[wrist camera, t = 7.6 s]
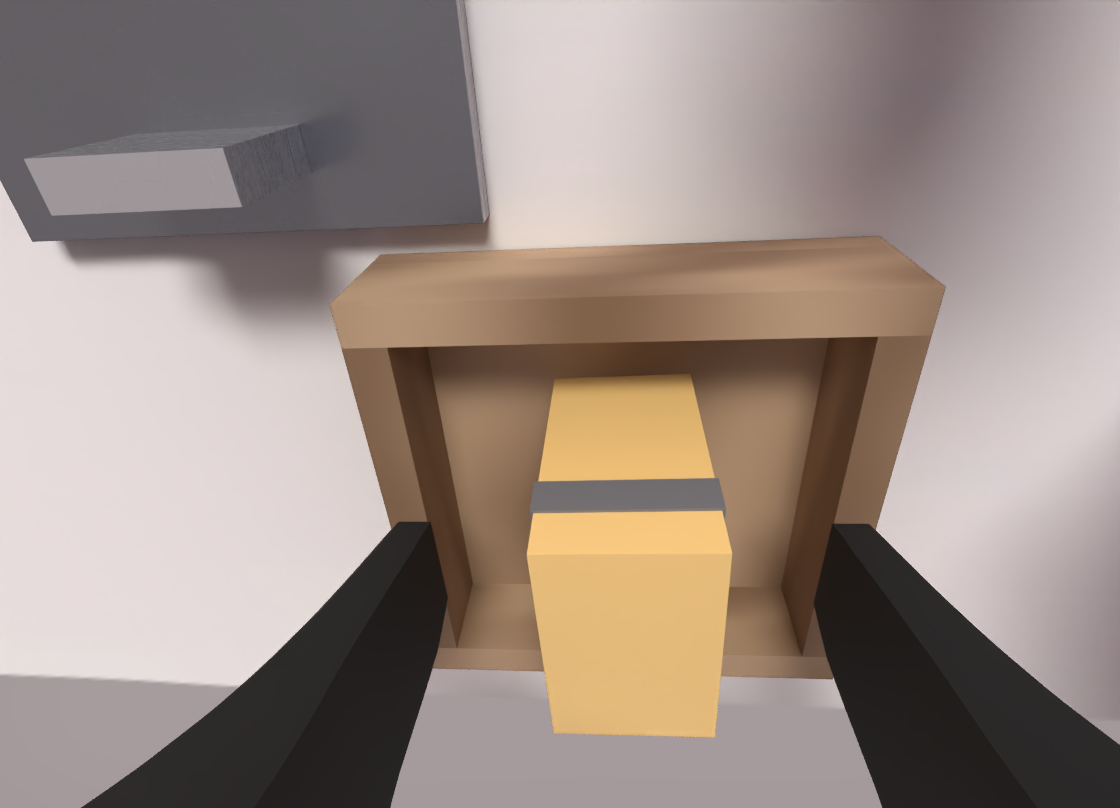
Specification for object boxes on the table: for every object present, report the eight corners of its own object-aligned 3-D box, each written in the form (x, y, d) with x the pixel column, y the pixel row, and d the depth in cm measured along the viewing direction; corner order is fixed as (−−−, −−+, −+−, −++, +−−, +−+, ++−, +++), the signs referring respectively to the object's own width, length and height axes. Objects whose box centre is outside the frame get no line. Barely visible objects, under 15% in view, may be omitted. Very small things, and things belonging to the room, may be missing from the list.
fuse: (693, 371, 12) (736, 550, 8) (686, 533, 15) (717, 738, 10) (552, 376, 13) (522, 552, 8) (568, 535, 15) (551, 734, 11)
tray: (880, 235, 11) (945, 286, 9) (802, 591, 16) (832, 679, 14) (380, 254, 12) (329, 304, 10) (453, 586, 17) (430, 668, 15)
